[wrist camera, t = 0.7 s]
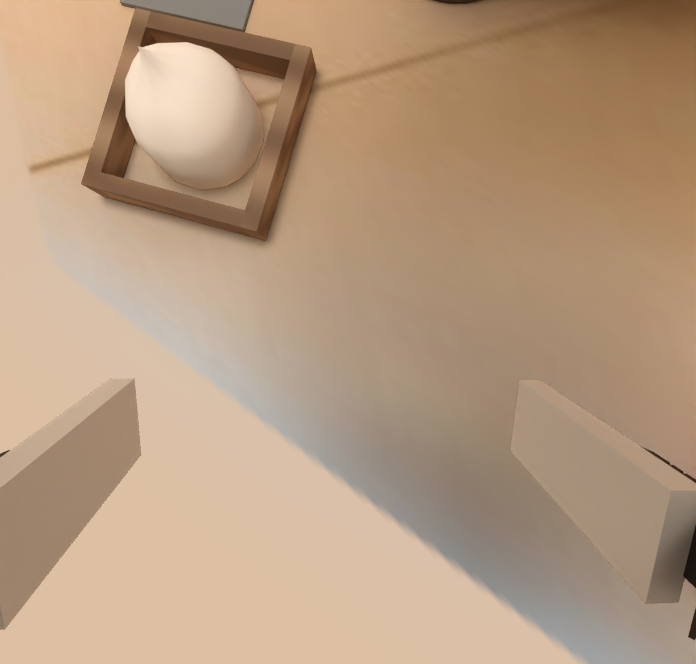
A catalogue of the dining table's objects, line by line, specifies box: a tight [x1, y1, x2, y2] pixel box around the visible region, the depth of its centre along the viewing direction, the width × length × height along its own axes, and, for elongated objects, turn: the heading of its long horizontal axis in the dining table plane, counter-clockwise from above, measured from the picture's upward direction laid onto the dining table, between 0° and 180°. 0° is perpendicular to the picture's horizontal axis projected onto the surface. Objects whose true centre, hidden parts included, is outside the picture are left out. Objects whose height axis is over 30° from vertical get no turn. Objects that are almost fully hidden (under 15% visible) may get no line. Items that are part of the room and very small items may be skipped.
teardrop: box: [125, 42, 264, 190], centre depth 35 cm, size 11×11×12 cm
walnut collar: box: [81, 8, 316, 240], centre depth 40 cm, size 17×17×3 cm
